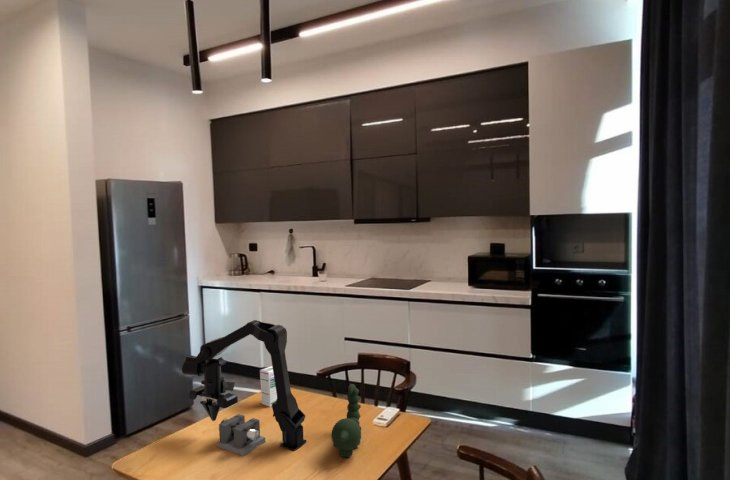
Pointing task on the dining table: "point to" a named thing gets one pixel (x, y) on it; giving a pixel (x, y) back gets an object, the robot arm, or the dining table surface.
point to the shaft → (249, 433)
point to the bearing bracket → (239, 435)
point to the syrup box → (268, 386)
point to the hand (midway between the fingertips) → (213, 420)
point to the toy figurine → (348, 426)
